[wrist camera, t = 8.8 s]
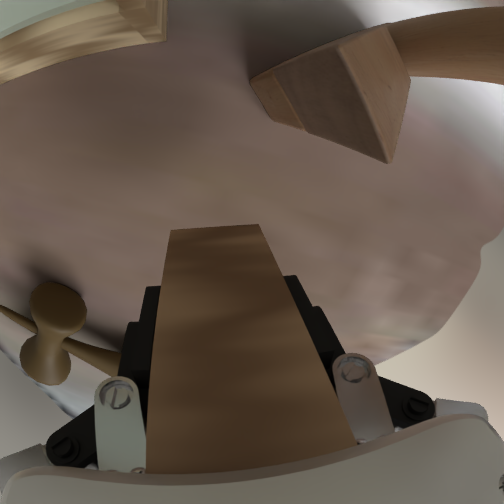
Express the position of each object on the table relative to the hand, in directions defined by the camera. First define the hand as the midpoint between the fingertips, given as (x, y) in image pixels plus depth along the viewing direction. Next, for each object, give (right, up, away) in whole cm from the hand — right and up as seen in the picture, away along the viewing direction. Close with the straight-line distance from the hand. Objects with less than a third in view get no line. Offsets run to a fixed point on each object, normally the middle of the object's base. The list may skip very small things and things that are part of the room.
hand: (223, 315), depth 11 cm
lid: (-10, +22, -9) cm, 26 cm away
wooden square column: (-1, +2, +3) cm, 4 cm away
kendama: (-15, -6, +15) cm, 22 cm away
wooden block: (+6, +16, +7) cm, 18 cm away
